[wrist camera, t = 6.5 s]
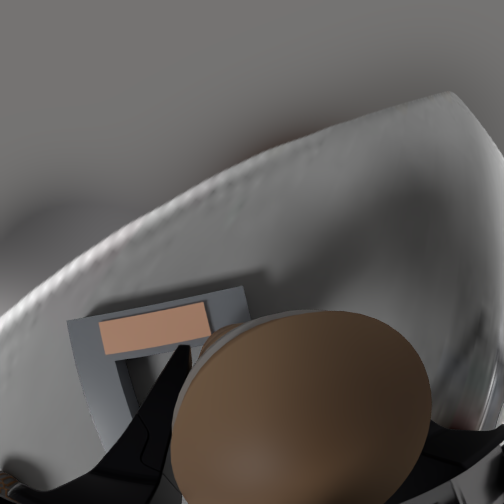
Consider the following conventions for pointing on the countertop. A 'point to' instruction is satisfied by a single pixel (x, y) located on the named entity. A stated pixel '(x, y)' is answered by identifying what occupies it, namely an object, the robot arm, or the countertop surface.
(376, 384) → the walnut peg
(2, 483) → the vase
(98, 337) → the socket block
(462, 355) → the countertop surface
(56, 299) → the countertop surface
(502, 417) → the decorative vase
